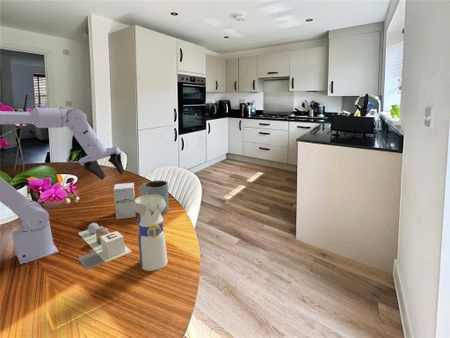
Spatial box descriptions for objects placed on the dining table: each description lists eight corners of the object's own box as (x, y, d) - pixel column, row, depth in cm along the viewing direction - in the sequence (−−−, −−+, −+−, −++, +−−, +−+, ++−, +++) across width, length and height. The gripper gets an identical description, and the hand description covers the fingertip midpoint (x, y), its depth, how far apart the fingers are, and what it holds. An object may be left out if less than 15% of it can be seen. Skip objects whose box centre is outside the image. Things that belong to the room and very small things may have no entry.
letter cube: (108, 258, 79) (106, 242, 77) (102, 251, 82) (100, 236, 81) (125, 251, 82) (123, 236, 81) (118, 245, 86) (116, 230, 84)
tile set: (105, 263, 77) (105, 262, 77) (78, 233, 94) (77, 232, 94) (132, 252, 82) (132, 251, 82) (101, 226, 100) (101, 225, 100)
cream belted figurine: (174, 266, 75) (168, 179, 69) (143, 276, 71) (134, 185, 65) (165, 252, 82) (159, 172, 76) (136, 260, 78) (127, 177, 72)
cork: (99, 245, 86) (97, 234, 85) (95, 241, 88) (93, 230, 87) (110, 241, 88) (109, 230, 87) (106, 237, 91) (105, 226, 90)
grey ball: (90, 236, 92) (88, 226, 91) (86, 232, 94) (85, 223, 93) (101, 232, 94) (99, 223, 93) (97, 229, 96) (96, 220, 96)
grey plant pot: (157, 218, 106) (155, 189, 103) (139, 212, 111) (136, 185, 108) (174, 209, 115) (173, 182, 112) (157, 204, 120) (155, 178, 117)
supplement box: (116, 220, 105) (112, 189, 102) (118, 213, 112) (114, 183, 109) (136, 218, 107) (133, 187, 103) (136, 210, 114) (133, 182, 110)
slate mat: (86, 271, 73) (86, 269, 73) (77, 259, 79) (77, 258, 79) (105, 263, 77) (105, 262, 77) (95, 252, 82) (95, 251, 82)
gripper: (114, 130, 90) (134, 163, 97) (77, 143, 92) (99, 174, 100) (106, 140, 84) (128, 174, 91) (67, 153, 87) (91, 185, 94)
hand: (113, 175), depth 95 cm, fingers open, 7 cm apart
